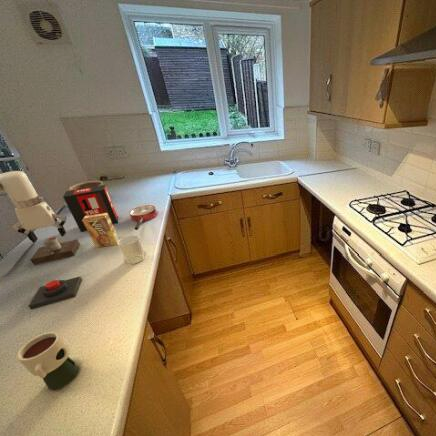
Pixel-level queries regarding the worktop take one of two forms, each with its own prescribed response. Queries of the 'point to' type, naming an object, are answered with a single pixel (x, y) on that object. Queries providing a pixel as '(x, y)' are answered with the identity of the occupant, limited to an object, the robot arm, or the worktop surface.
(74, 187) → the cooking pot
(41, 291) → the button block
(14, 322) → the worktop surface
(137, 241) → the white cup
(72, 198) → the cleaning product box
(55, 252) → the base
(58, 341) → the character mug
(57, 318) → the worktop surface
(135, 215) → the frying pan
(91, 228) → the candy box
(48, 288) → the button
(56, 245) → the tap knob
